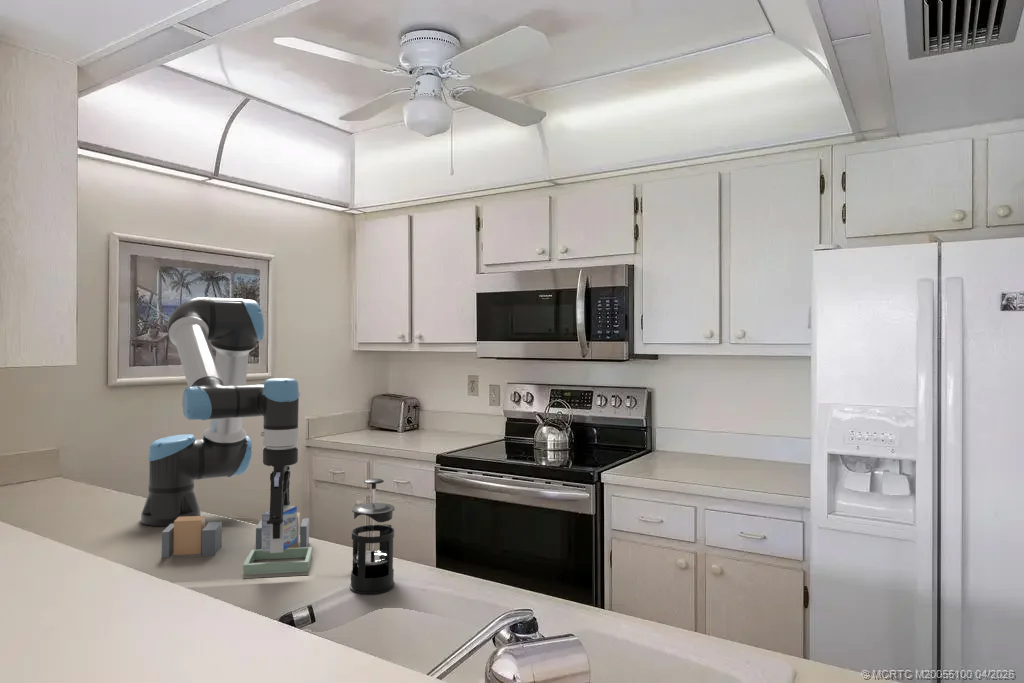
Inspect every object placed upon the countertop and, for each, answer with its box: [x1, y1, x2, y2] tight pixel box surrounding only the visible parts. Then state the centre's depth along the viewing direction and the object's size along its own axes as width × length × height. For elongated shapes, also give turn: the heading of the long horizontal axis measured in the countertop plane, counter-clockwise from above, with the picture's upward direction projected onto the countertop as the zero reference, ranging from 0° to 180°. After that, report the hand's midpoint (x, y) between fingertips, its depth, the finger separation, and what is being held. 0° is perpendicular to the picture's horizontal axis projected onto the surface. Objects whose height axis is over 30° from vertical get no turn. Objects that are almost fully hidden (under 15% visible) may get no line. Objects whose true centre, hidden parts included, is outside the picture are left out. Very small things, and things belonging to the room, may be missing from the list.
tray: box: [242, 546, 313, 580], centre depth 155 cm, size 11×14×3 cm
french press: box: [349, 477, 396, 596], centre depth 146 cm, size 12×9×23 cm
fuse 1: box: [174, 515, 206, 555], centre depth 162 cm, size 4×6×8 cm, turn 102°
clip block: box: [161, 517, 310, 559], centre depth 165 cm, size 7×32×7 cm, turn 102°
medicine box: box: [261, 505, 298, 552], centre depth 154 cm, size 8×4×9 cm, turn 168°
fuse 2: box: [288, 511, 301, 548], centre depth 167 cm, size 4×6×8 cm, turn 102°
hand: (279, 545), depth 155 cm, fingers closed on medicine box, 9 cm apart
